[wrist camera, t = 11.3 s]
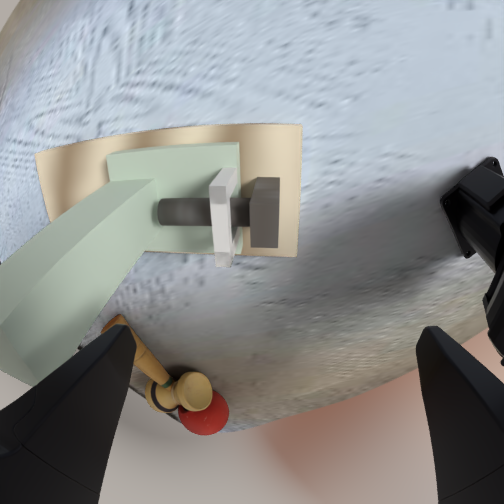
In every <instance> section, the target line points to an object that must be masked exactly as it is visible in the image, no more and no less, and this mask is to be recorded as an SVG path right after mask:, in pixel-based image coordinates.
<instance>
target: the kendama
mask: <svg viewBox="0 0 504 504" xmlns="http://www.w3.org/2000/svg"><path fill="white" fill-rule="evenodd" d="M115 324H126V325H128V326H129V324H128V323H127V321H126V320H125V319H124V317H123V316H122V315H121V314H119V315H117V316H115V317H114V318H113V319H112V320H110V321H109V322H108V323H107V324H106V325H105V327H104V328H103V329H102V331H101V334H103V333H104V332H105V331H107V330H108V329H109V328H111V327H112V326H113V325H115ZM129 327H130V326H129ZM130 329H131V332H132V334H133V336H134V338H135V341H136V344H137V349H136V354H135V359H134V363H133V364H134V365H135V366H136V367H137V368H139V369H140V370H141V371H142V372H143V373H145V374H146V375H147V376H148V377H150V378H151V379H150V380H149V381H148V382H147V384H146V388H145V396H146V400H147V402H148V404H149V405H150V407H152V408H153V409H154V410H155V411H158V412H163V413H170V412H173V411H175V410H176V409H177V408H178V414H179V418H180V420H181V422H182V424H183V425H184V426H185V427H186V428H187V429H188V430H189V431H191V432H193V433H195V434H198V435H211V434H214V433H217V432H218V431H220V430H221V429H222V428H223V427H224V426H225V424H226V423H227V420H228V417H229V408H228V405H227V403H226V401H225V399H224V398H223V397H222V396H221V395H220V394H219V393H217V392H216V391H213V390H212V387H211V384H210V382H209V380H208V378H207V377H206V376H205V375H203V374H202V373H200V372H187V373H185V374H183V375H182V376H181V377H180V379H179V380H178V381H176V380H175V379H174V378H173V377H171V376H170V375H169V374H168V373H167V372H166V370H165V369H164V368H163V366H162V365H161V364H160V363H159V361H158V360H157V359H156V358H155V356H154V355H153V354H152V353H151V352H150V350H149V349H148V348H147V347H146V346H145V344H144V343H143V342H142V341H141V340H140V338H139V337H138V336H137V335H136V334H135V332H134V331H133V329H132V328H131V327H130Z"/></svg>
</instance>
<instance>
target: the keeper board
mask: <svg viewBox="0 0 504 504" xmlns="http://www.w3.org/2000/svg"><path fill="white" fill-rule="evenodd" d="M215 142H239V151H240V180H241V198H230V214H231V227H242V234H243V247H242V251H241V254H235V255H249V256H278V257H297V246H298V230H299V212H300V191H301V165H302V124H278V123H245V124H215V125H199V126H185V127H174V128H164V129H155V130H147V131H140V132H132V133H126V134H119V135H113V136H108V137H102V138H97V139H91V140H86V141H82V142H77V143H72V144H68V145H64V146H59V147H55V148H51V149H47V150H44V151H41V152H38V153H36V154H35V160H36V165H37V170H38V175H39V180H40V184H41V189H42V193H43V197H44V201H45V205H46V209H47V212H48V216H49V220H50V223H51V222H53V221H54V220H55V219H57V218H58V217H59V216H61V215H62V214H63V213H65V212H66V211H67V210H69V209H70V208H72V207H73V206H74V205H76V204H77V203H79V202H80V201H81V200H83V199H84V198H86V197H87V196H89V195H90V194H92V193H93V192H95V191H96V190H98V189H99V188H101V187H102V186H104V185H105V184H107V183H109V182H110V178H109V172H108V166H107V159H106V155H108V154H110V153H112V152H115V151H121V150H129V149H137V148H146V147H156V146H167V145H179V144H195V143H215ZM157 216H158V221H159V223H160V225H162V226H212V221H211V209H210V198H162V199H161V200H160V201H159V204H158V208H157ZM144 252H165V251H144ZM165 253H192V254H215V253H193V252H165Z"/></svg>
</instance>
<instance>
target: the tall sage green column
mask: <svg viewBox="0 0 504 504" xmlns="http://www.w3.org/2000/svg"><path fill="white" fill-rule="evenodd" d="M106 159H107V166H108V172H109V178H110V182H109V183H107V184H105V185H104V186H102V187H101V188H99V189H98V190H96V191H95V192H93V193H92V194H90V195H89V196H87V197H86V198H84V199H83V200H81V201H80V202H79V203H77V204H76V205H74V206H73V207H72V208H70V209H69V210H67V211H66V212H65V213H63V214H62V215H61V216H59V217H58V218H57V219H55V220H54V221H53V222H51V223H50V224H49V225H47V226H46V227H45V228H43V229H42V230H41V231H40V232H38V233H37V234H36V235H35V236H33V237H32V238H31V239H30V240H29V241H27V242H26V243H25V244H24V245H23V246H21V247H20V248H19V249H18V250H17V251H16V252H14V253H13V254H12V255H11V256H10V257H9V258H8V259H7V260H5V261H4V262H3V263H2V264H1V265H0V370H1V371H3V372H5V373H7V374H9V375H10V376H12V377H14V378H16V379H18V380H20V381H22V382H24V383H26V384H28V385H30V386H32V387H34V386H35V385H37V384H38V383H39V382H40V381H41V380H43V379H44V378H45V377H47V376H48V375H49V374H50V373H52V372H53V371H54V370H55V369H57V368H58V367H59V366H61V365H62V364H63V363H65V362H66V361H67V360H68V359H70V358H71V357H72V356H73V354H74V352H75V351H76V349H77V348H78V346H79V345H80V343H81V341H82V340H83V338H84V337H85V335H86V334H87V332H88V330H89V329H90V327H91V326H92V324H93V323H94V321H95V320H96V318H97V317H98V315H99V314H100V312H101V311H102V309H103V308H104V306H105V305H106V303H107V302H108V301H109V299H110V298H111V296H112V295H113V293H114V292H115V291H116V289H117V288H118V286H119V285H120V283H121V282H122V281H123V279H124V278H125V277H126V275H127V274H128V272H129V271H130V270H131V268H132V267H133V266H134V264H135V263H136V262H137V260H138V259H139V258H140V256H141V255H142V254H143V252H144V251H165V252H193V253H215V263H216V267H231V265H232V262H233V258H234V255H235V254H241V251H242V247H243V234H242V227H231V214H230V198H241V180H240V151H239V142H215V143H195V144H179V145H167V146H156V147H146V148H137V149H129V150H121V151H115V152H112V153H110V154H108V155H106ZM162 198H210V209H211V221H212V226H162V225H160V223H159V221H158V216H157V208H158V204H159V201H160V200H161V199H162Z"/></svg>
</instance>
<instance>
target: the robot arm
mask: <svg viewBox="0 0 504 504" xmlns="http://www.w3.org/2000/svg"><path fill="white" fill-rule="evenodd" d="M493 162H494V165H493ZM447 200H448V203H447V204H445V202H446V201H447ZM440 204H441V207H442V209H443V211H444V213H445V215H446V217H447V219H448V222H449V224H450V226H451V228H452V231H453V233H454V235H455V238H456V240H457V242H458V245H459V247H460V250H461V252H462V255H463V256H464V257H465V258H470V257H471V256H472V255H474V254H475V253H476V252H477V253H478V254H479V255H480V256H481V258H482V259H483V260H484V261H485V262H486V263H487V265H488V266H489V267H490V268H491V269H492V270H493V272H494V273H495V275H494V278H493V280H492V283H491V285H490V287H489V289H488V292H487V293H485V295H484V297H483V299H482V301H483V305H484V308H485V312H486V319H487V322H488V327H489V331H488V337H489V339H490V341H491V342H492V344H493V346H494V347H495V349H496V350H497V352H498V353H499V354H500V356H501V357H503V359H502V360H501V365H502V366H504V176H503V173H502V170H501V167H500V164H499V161H498V159H496V158H495V157H490V158H489V159H487V160H486V161H485V162H484V163H483V164H482V165H479V166H478V167H477V168H476V169H474V170H473V171H472V172H471V173H470V174H468V175H467V176H466V177H465V178H463V179H462V180H461V181H460V182H459V184H457V185H456V186H455V187H454V188H452V189H451V190H450V191H449V192H447V193H446V194H445V195H444V196H442V198H441V200H440ZM467 252H468V253H467ZM136 349H137V344H136V341H135V338H134V336H133V334H132V332H131V329H130V327H129V326H128V325H126V324H115V325H113V326H112V327H111V328H109V329H108V330H107V331H105V332H104V333H103V334H101V335H100V336H99V337H97V338H96V339H95V340H93V341H92V342H91V343H89V344H88V345H87V346H85V347H84V348H83V349H81V350H80V351H79V352H78V353H76V354H75V355H74V356H72V357H71V358H70V359H68V360H67V361H66V362H65V363H63V364H62V365H61V366H59V367H58V368H57V369H55V370H54V371H53V372H52V373H50V374H49V375H48V376H47V377H45V378H44V379H43V380H41V381H40V382H39V383H38V384H37V385H35V386H34V387H32V388H31V389H30V390H29V391H27V392H26V393H25V394H23V395H22V396H21V397H19V398H18V399H17V400H16V401H14V402H12V403H11V404H10V405H8V406H7V407H5V408H3V409H2V410H0V504H98V501H99V497H100V491H101V487H102V483H103V478H104V474H105V470H106V466H107V462H108V458H109V454H110V450H111V446H112V443H113V439H114V435H115V432H116V428H117V425H118V421H119V418H120V414H121V411H122V408H123V405H124V401H125V398H126V395H127V391H128V387H129V383H130V378H131V373H132V368H133V363H134V359H135V354H136ZM416 356H417V363H418V369H419V376H420V384H421V391H422V396H423V401H424V406H425V411H426V416H427V421H428V426H429V431H430V437H431V443H432V449H433V456H434V463H435V472H436V481H437V491H438V501H439V502H438V504H504V384H503V383H502V382H501V381H500V380H499V379H498V378H497V377H496V376H495V375H494V374H493V373H491V372H490V371H489V370H488V369H487V368H486V367H485V366H484V365H483V364H481V363H480V362H479V361H478V360H477V359H475V357H473V356H472V355H471V354H470V353H469V352H468V351H467V350H465V349H464V348H463V347H462V346H461V345H460V344H458V343H457V342H456V341H455V340H454V339H453V338H451V337H450V336H449V335H448V334H447V333H445V332H444V331H443V330H442V329H441V328H439V327H438V326H427V327H425V328H424V329H423V331H422V334H421V336H420V338H419V340H418V342H417V345H416Z"/></svg>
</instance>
